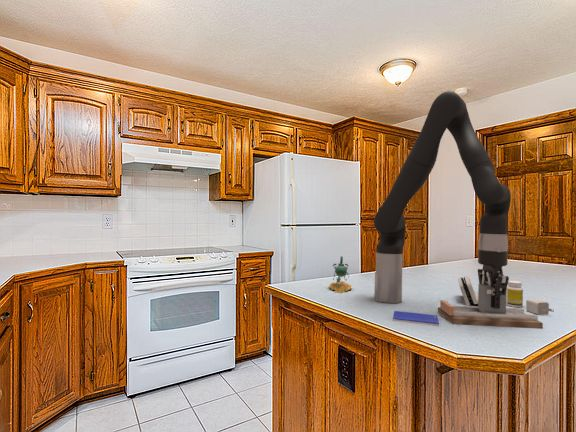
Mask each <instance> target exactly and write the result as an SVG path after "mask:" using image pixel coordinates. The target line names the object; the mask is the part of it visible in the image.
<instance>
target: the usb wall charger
mask: <svg viewBox="0 0 576 432" xmlns="http://www.w3.org/2000/svg"><path fill="white" fill-rule="evenodd" d="M525 301H526V302H525V303H526V304H525V310H526V312H529V313H531V312H532V314H534V313H535V314H534V315H537V316H547V315H549V313H550V312H551V313H552V312H553V313H554V309H553V308H550V304H549V302H547V301H543V300H539V299H536V298H527V299H526V300H525Z"/></svg>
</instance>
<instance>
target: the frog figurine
mask: <svg viewBox="0 0 576 432" xmlns="http://www.w3.org/2000/svg"><path fill="white" fill-rule="evenodd" d="M343 258H344V257H343V256H340V261H339V263H338V265H337V263H333V264H332V266H333V269H334V275H333V279H332V280H333V282H331V283H330V284H329V286H328V288H330V290H332V291H333V290H334V293H335V294H342V293H347V292H349V290H353V288H352V285H351V284H349V283H347V280H348V279H347V278H346V276H350V275H349V273H348V269H349V264H348V263H343V262H344V261H343V260H344V259H343ZM336 276H337V277H336ZM335 278H336V281H335V282H334V280H335ZM342 278H344V279H345V280H344V281H343V280H342Z"/></svg>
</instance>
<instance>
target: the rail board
mask: <svg viewBox="0 0 576 432" xmlns="http://www.w3.org/2000/svg"><path fill="white" fill-rule="evenodd" d="M439 301H440V305H439V307H438V308H437V313H439V315H441V316H442V317H443V318H445V319H446V320H447V321H448V322H449V323H451V324H452V325H467V326H468V325H469V326H487V327H488V326H491V327H505V328H506V327H508V328H526V329H527V328H528V329H543V327H544V324H543V322H542V321H540V320H539V315H537V314H527V313H525V309H524V308H521V307H506V313H485V312H481V311H480V310H478V306H473V305H472V306H471V305H452V304H451V303H449V302H447V301H446V300H443V299H442V300H439Z"/></svg>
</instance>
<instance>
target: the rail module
mask: <svg viewBox="0 0 576 432" xmlns="http://www.w3.org/2000/svg"><path fill="white" fill-rule="evenodd" d="M494 285H496V284H494ZM494 289H495V288H494ZM501 289H502V288H501ZM477 291H478V292H477V293H478V304H477V307H478V310H480V311H481V312H485V313H506V308H507V304H506V294H505V295H502V296H500V308H499V309H494V308H492V307H491V287H490V286H489V284H479V283H478V290H477Z"/></svg>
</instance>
